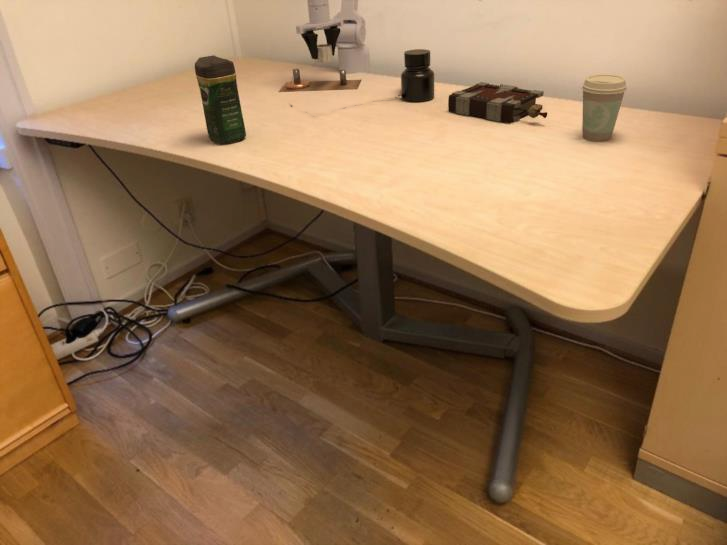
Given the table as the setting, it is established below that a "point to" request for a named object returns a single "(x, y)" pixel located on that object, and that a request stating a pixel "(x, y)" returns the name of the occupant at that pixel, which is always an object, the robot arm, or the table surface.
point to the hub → (297, 81)
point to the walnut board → (325, 86)
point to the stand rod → (343, 77)
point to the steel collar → (324, 53)
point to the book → (496, 102)
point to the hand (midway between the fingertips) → (323, 57)
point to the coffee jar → (220, 99)
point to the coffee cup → (601, 105)
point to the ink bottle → (417, 76)
